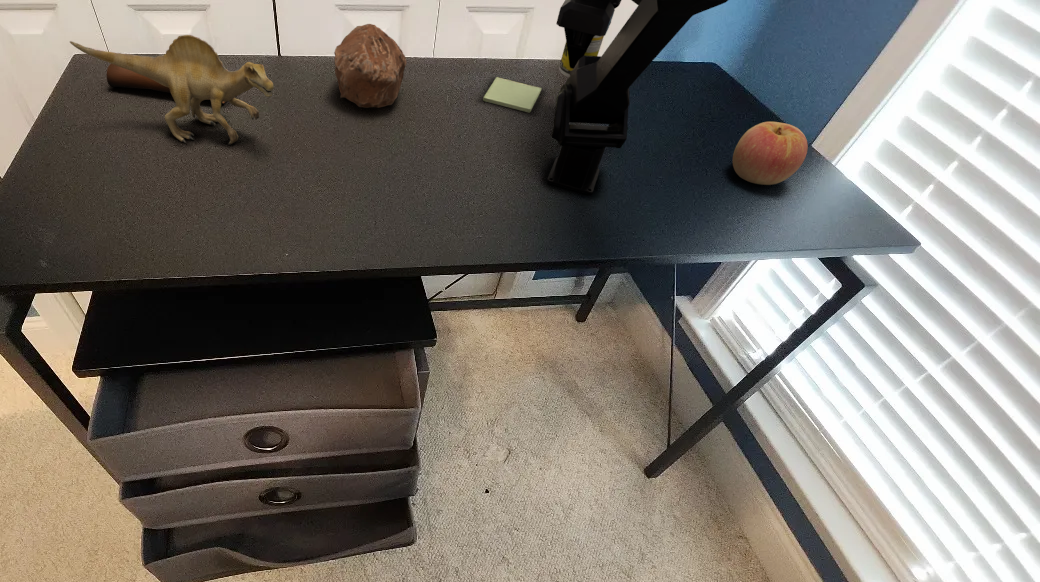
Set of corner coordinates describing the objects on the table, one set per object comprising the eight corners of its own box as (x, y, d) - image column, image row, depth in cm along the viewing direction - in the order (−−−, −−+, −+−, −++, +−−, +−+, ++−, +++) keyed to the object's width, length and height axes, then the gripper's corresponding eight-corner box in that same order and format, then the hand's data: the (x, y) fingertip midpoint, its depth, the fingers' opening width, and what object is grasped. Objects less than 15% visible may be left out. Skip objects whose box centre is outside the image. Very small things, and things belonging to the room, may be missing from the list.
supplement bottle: (552, 65, 86) (569, 2, 80) (581, 63, 88) (600, 1, 81) (567, 81, 84) (586, 18, 77) (596, 79, 85) (618, 16, 78)
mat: (529, 113, 96) (530, 109, 96) (482, 100, 98) (483, 97, 97) (540, 91, 101) (541, 88, 101) (495, 80, 103) (496, 76, 102)
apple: (790, 199, 86) (825, 149, 80) (728, 189, 86) (757, 139, 80) (776, 166, 91) (808, 117, 85) (718, 157, 92) (745, 107, 86)
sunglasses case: (239, 78, 96) (226, 51, 89) (230, 118, 95) (217, 93, 88) (131, 63, 97) (111, 35, 90) (121, 102, 96) (100, 77, 89)
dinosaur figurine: (278, 158, 84) (268, 61, 73) (98, 130, 85) (64, 31, 75) (293, 130, 88) (286, 35, 78) (123, 103, 90) (93, 7, 79)
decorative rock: (340, 74, 100) (340, 9, 93) (406, 81, 100) (411, 18, 92) (327, 113, 92) (325, 46, 84) (399, 121, 92) (404, 55, 84)
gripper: (674, -31, 65) (622, 105, 77) (690, -77, 76) (643, 48, 88) (575, -52, 67) (540, 83, 79) (605, -94, 78) (570, 30, 91)
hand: (577, 60), depth 84 cm, fingers closed on supplement bottle, 5 cm apart
